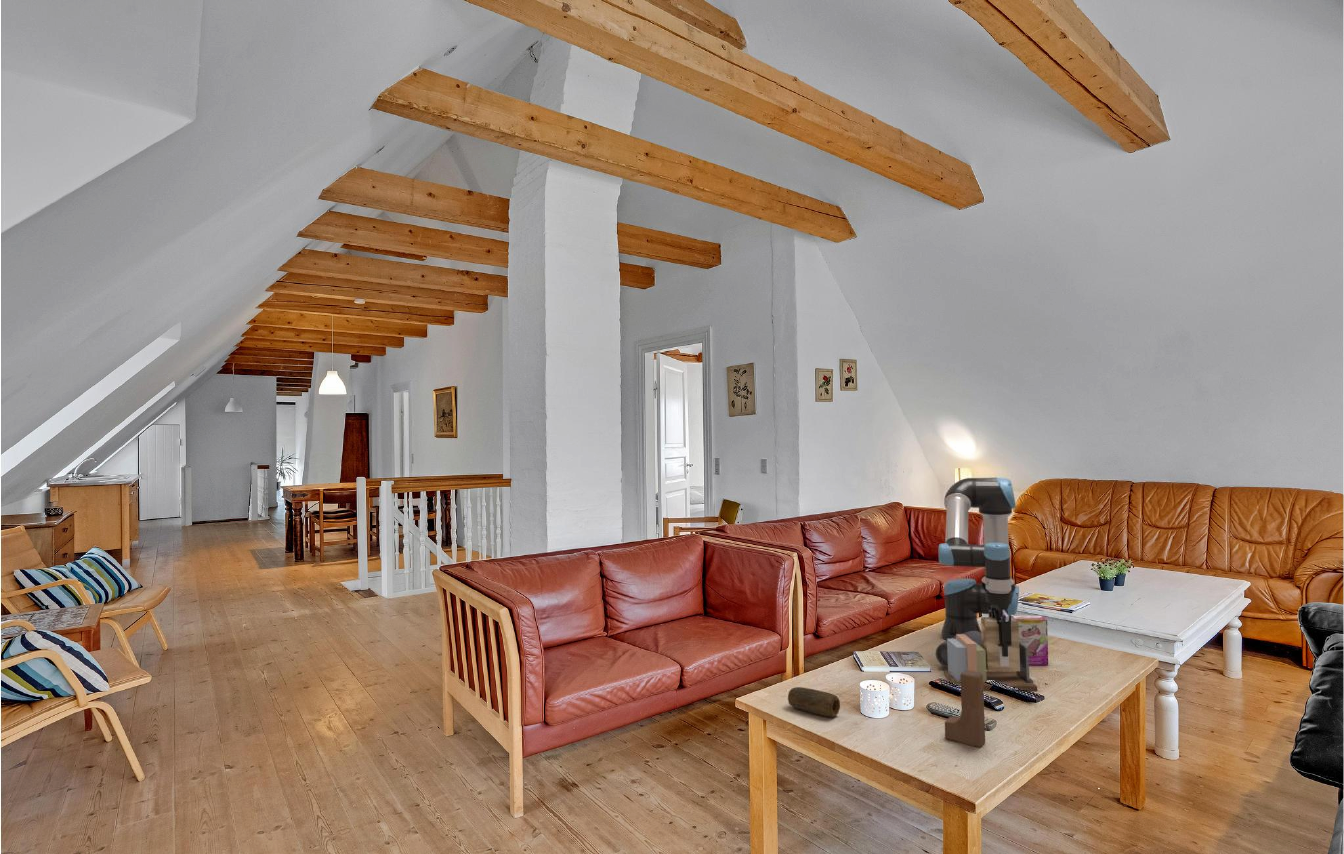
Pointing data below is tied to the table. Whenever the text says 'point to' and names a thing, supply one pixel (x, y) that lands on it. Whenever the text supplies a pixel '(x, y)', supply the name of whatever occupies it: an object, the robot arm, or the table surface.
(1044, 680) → the table surface
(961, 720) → the wooden block
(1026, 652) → the bookend
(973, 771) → the table surface
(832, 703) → the portable cylindrical speaker
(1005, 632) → the robot arm
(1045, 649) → the candy bar box
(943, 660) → the bluetooth speaker
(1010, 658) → the tan rectangular block
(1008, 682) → the shelf
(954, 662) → the book row
